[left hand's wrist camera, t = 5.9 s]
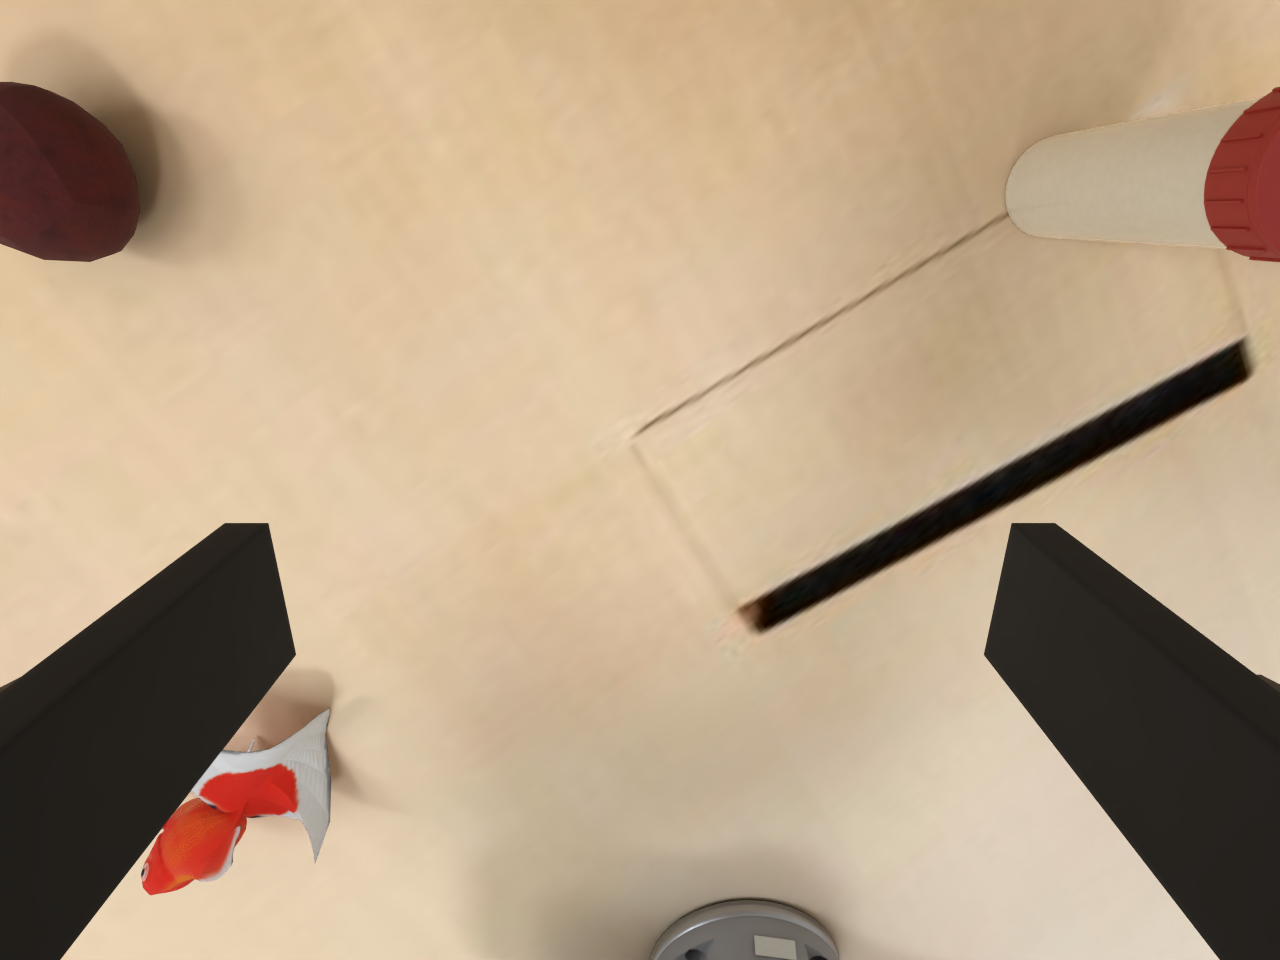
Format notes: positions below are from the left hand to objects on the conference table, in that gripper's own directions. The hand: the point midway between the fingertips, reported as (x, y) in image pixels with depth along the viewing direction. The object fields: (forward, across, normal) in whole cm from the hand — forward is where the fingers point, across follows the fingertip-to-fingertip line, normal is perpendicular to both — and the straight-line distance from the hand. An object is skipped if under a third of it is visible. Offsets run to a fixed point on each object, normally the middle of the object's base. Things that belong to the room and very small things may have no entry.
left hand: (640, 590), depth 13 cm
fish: (+28, +26, +29) cm, 48 cm away
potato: (+28, +28, -8) cm, 40 cm away
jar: (+28, -21, -8) cm, 36 cm away
